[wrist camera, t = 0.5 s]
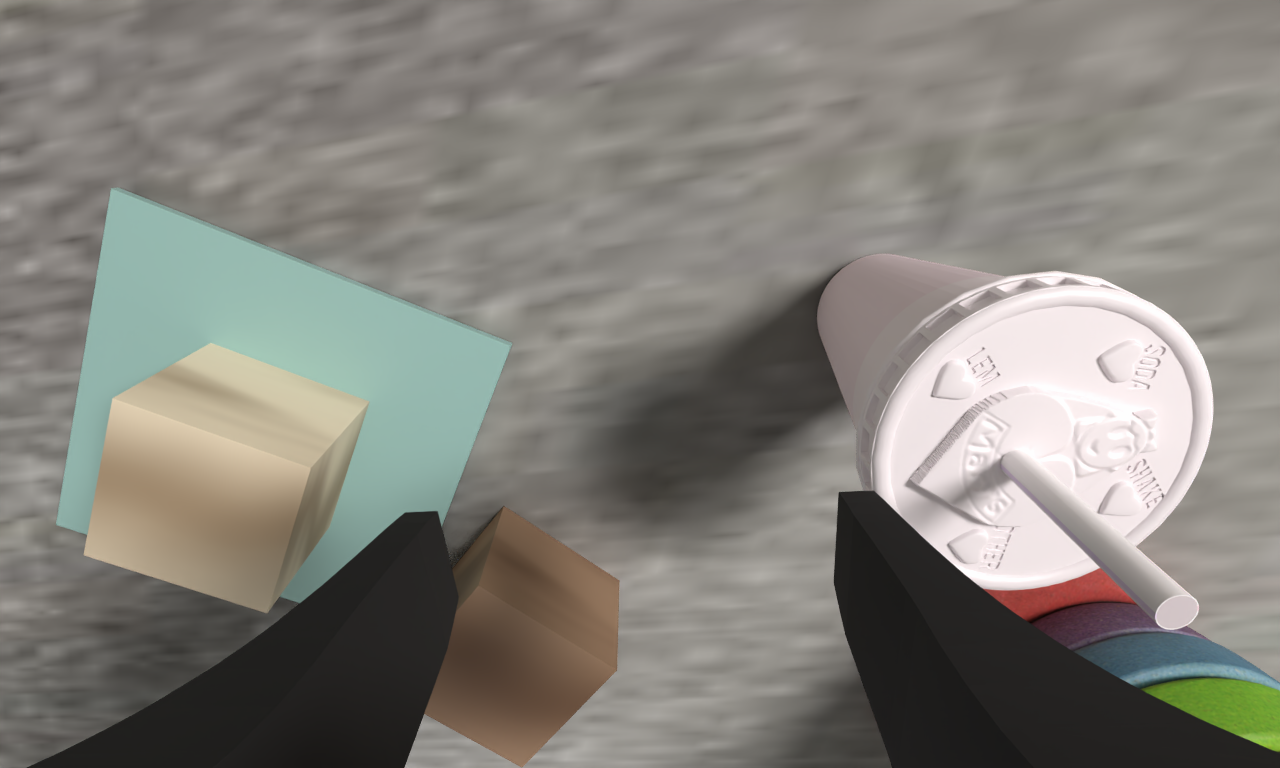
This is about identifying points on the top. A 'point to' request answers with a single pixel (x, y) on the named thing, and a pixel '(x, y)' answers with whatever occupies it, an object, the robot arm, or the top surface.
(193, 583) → the maple block
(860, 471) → the smoothie
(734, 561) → the top surface
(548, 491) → the top surface
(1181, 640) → the stacking bear
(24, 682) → the top surface
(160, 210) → the mat
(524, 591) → the walnut block
